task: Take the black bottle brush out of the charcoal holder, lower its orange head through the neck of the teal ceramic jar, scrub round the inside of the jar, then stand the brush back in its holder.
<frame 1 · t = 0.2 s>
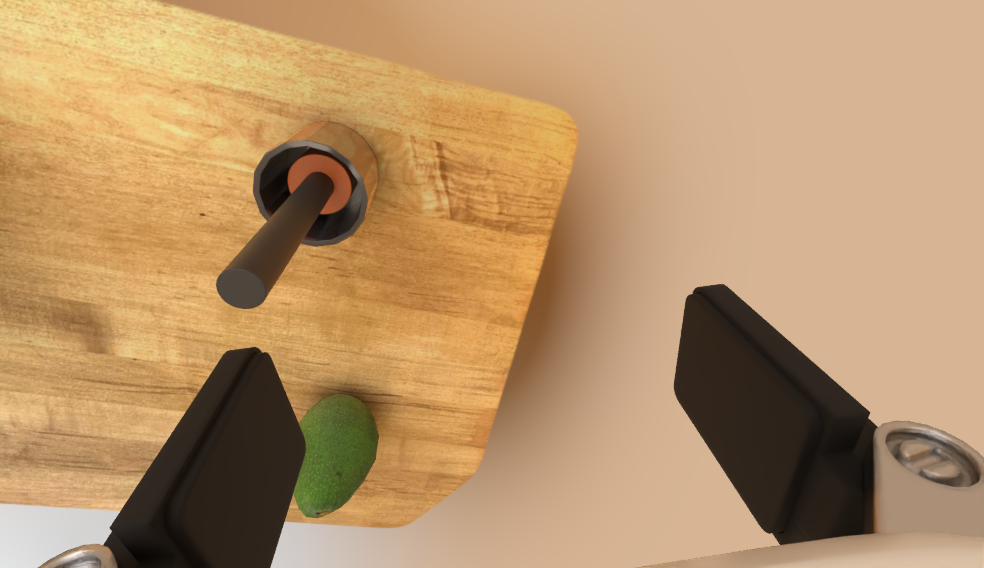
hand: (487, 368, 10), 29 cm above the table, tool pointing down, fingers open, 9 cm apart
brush: (331, 170, 36), resting on holder
holder: (332, 168, 36), on the table
fruit: (345, 405, 49), on the table
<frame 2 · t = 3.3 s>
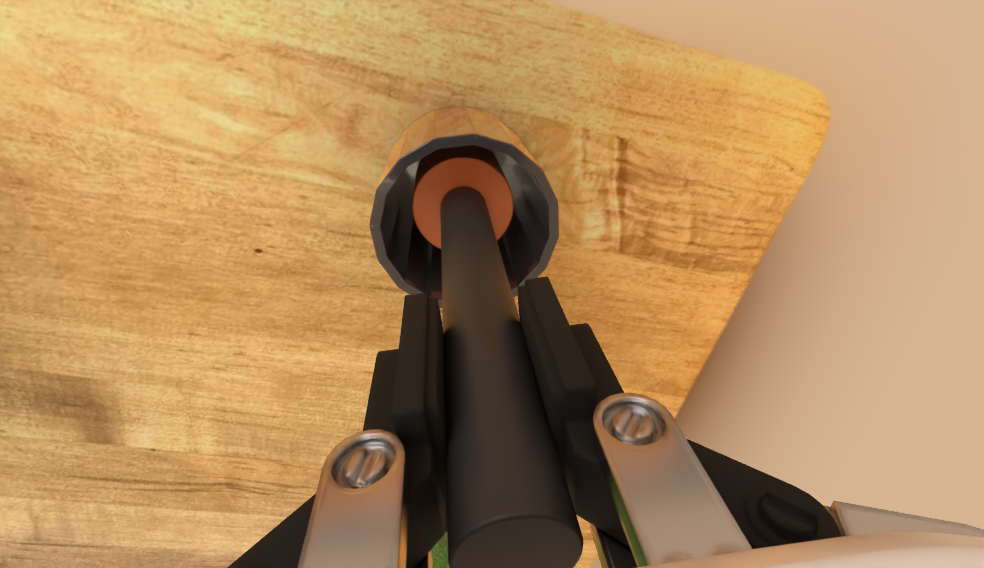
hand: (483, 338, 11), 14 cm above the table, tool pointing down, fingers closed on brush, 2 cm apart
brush: (459, 181, 23), point 1 cm above the table, touching gripper
holder: (459, 180, 24), on the table
fruit: (435, 497, 36), on the table
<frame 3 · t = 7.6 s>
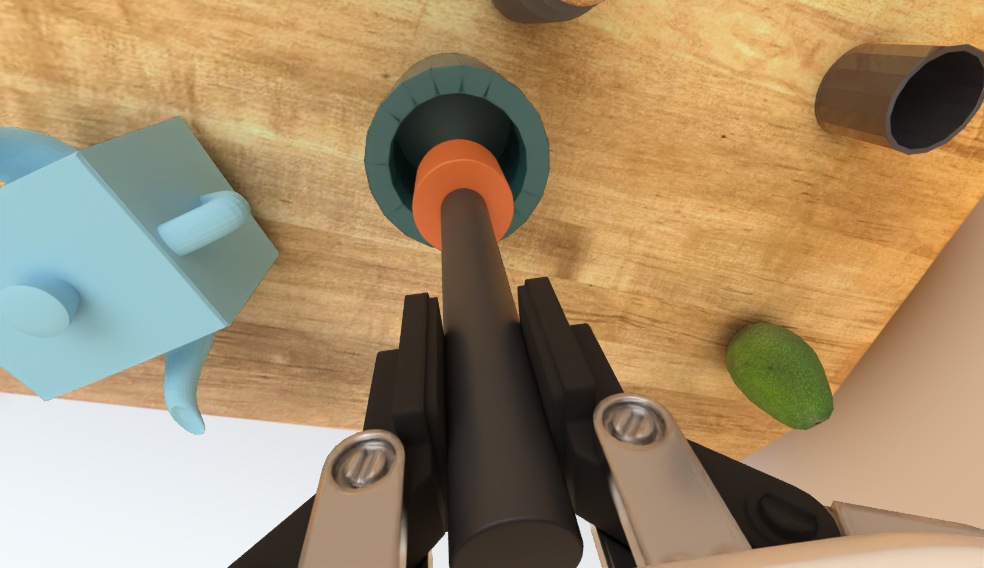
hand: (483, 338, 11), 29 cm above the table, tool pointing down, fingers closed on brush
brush: (459, 183, 23), point 15 cm above the table, touching gripper
teakettle: (159, 220, 38), on the table
holder: (857, 90, 38), on the table
fruit: (743, 337, 50), on the table
jar: (452, 123, 36), on the table
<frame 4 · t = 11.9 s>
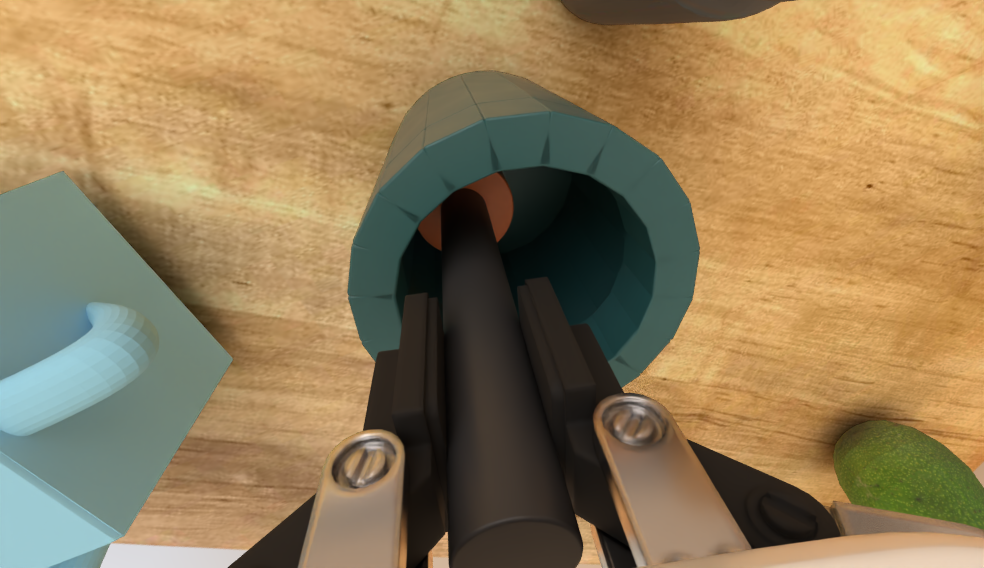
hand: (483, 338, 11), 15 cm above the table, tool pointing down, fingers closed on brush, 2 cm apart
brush: (459, 183, 23), point 1 cm above the table, touching gripper
teakettle: (57, 312, 26), on the table
fruit: (852, 432, 39), on the table
jar: (485, 173, 24), on the table
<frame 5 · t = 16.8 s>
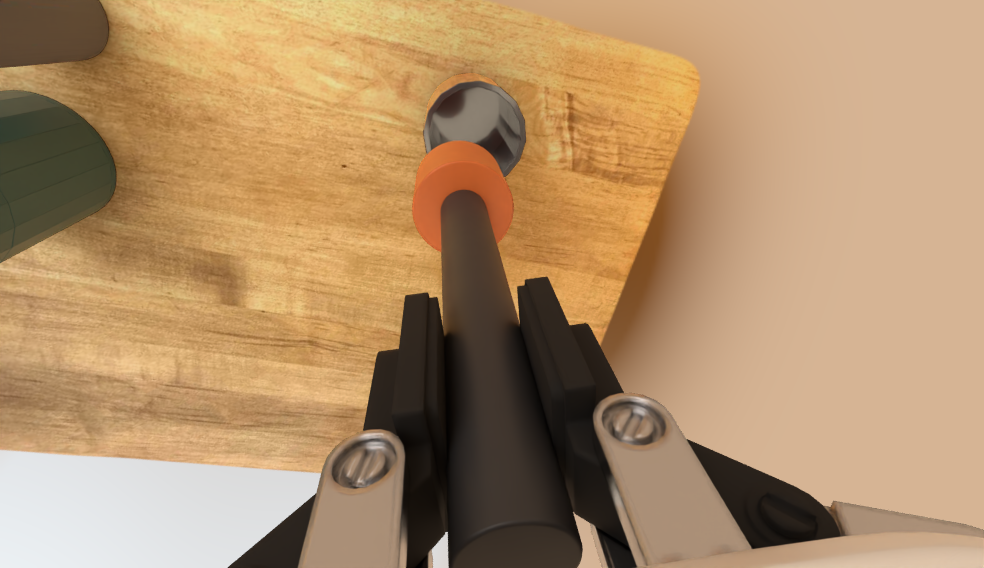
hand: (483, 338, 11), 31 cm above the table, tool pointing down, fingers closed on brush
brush: (459, 184, 23), point 17 cm above the table, touching gripper
holder: (469, 119, 38), on the table
bottle: (64, 14, 32), on the table
jar: (44, 158, 36), on the table
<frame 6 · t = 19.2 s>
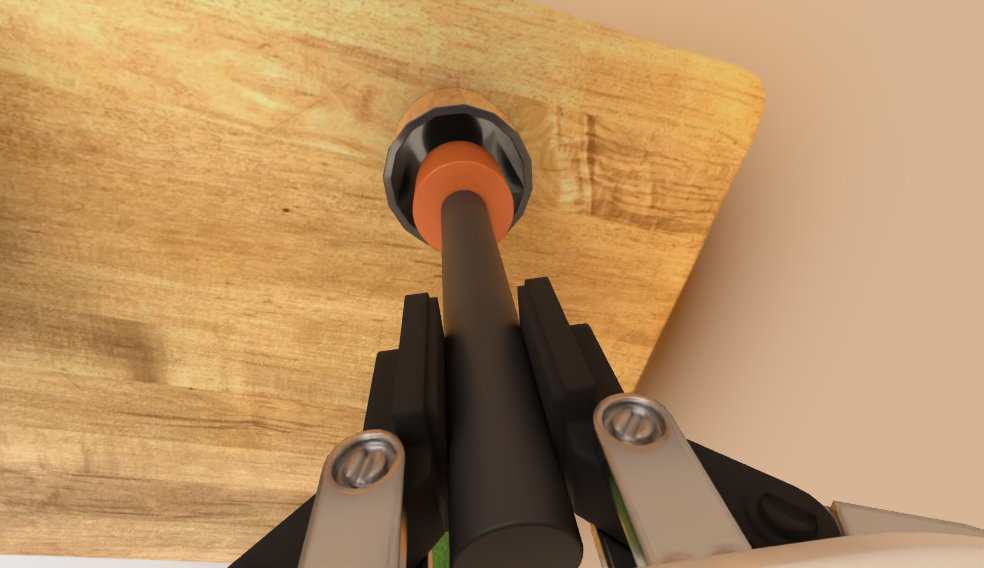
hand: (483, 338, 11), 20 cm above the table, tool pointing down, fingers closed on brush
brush: (459, 184, 23), point 6 cm above the table, touching gripper
holder: (454, 150, 28), on the table
fruit: (435, 438, 41), on the table
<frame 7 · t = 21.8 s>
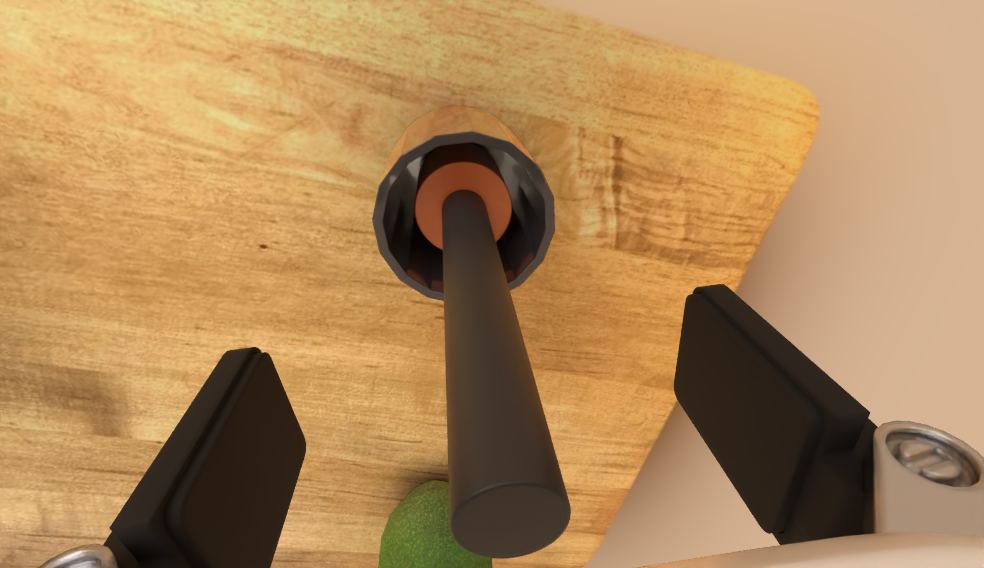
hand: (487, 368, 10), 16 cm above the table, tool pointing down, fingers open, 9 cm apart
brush: (460, 184, 24), resting on holder
holder: (458, 177, 24), on the table
fruit: (436, 490, 36), on the table
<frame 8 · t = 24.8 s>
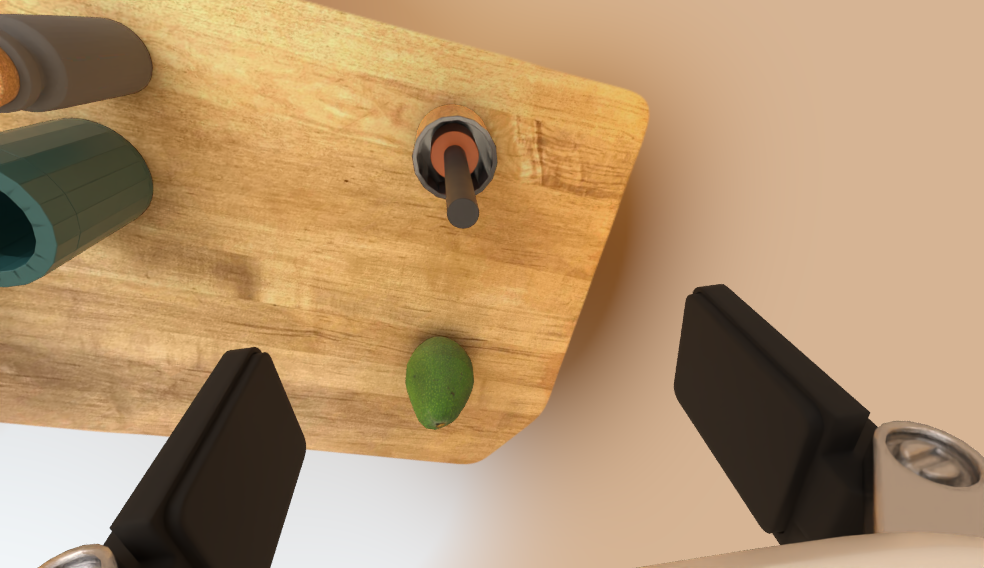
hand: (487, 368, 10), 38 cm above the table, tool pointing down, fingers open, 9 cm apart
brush: (453, 146, 45), resting on holder
holder: (452, 142, 45), on the table
fruit: (439, 348, 57), on the table
bottle: (116, 57, 39), on the table
jar: (93, 173, 43), on the table
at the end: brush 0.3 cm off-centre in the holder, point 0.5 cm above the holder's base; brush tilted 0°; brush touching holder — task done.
